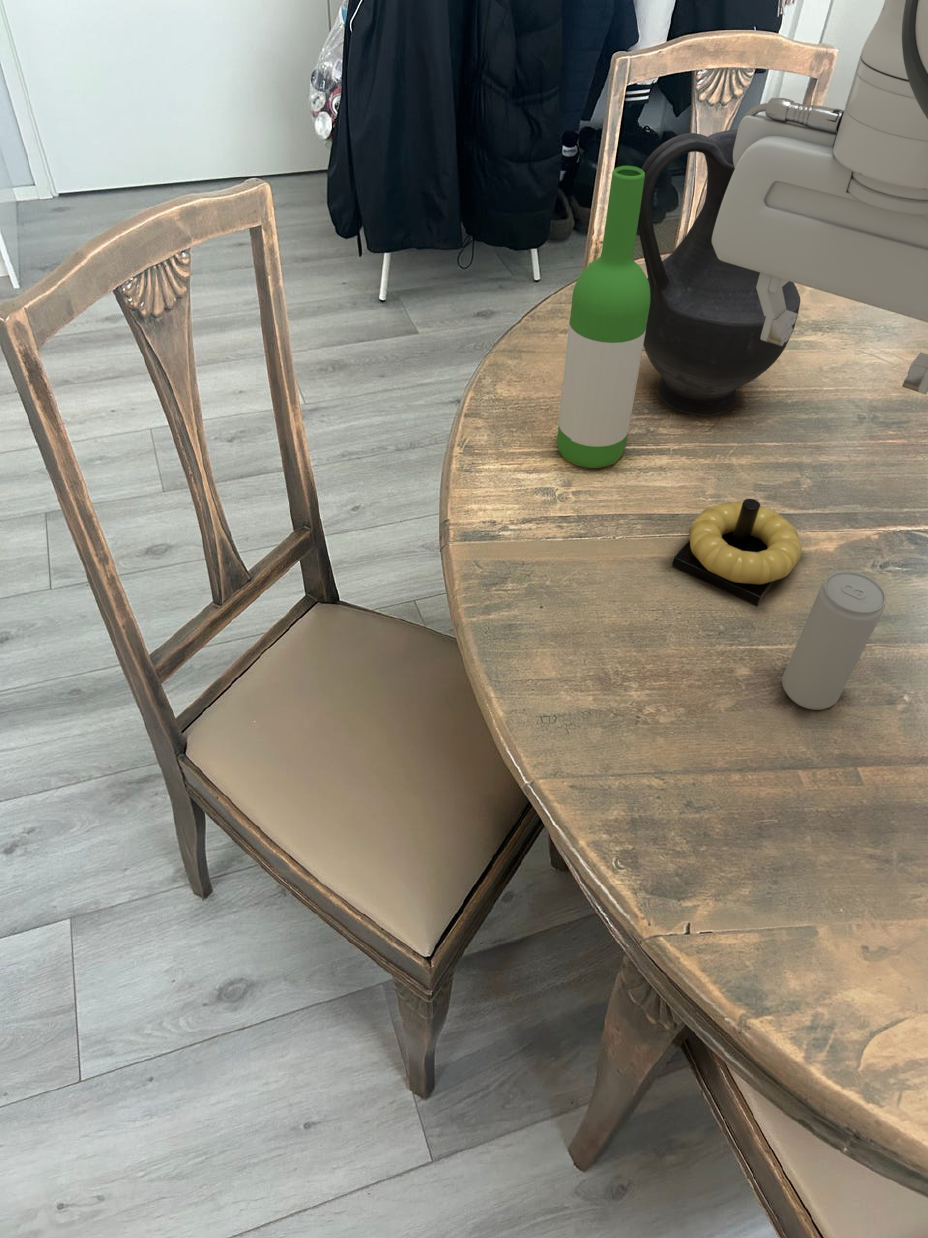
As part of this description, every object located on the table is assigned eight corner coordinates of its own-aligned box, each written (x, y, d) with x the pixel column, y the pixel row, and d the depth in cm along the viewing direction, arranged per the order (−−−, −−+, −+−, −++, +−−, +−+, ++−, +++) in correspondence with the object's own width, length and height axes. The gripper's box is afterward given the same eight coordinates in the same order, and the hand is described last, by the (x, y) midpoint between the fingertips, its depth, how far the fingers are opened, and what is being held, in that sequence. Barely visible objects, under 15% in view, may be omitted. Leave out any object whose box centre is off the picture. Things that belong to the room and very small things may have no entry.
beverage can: (825, 722, 73) (875, 622, 64) (770, 695, 75) (812, 594, 66) (845, 687, 76) (897, 587, 67) (792, 661, 78) (836, 560, 69)
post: (794, 555, 87) (816, 498, 82) (756, 606, 82) (777, 548, 77) (712, 520, 91) (728, 463, 86) (671, 566, 86) (685, 508, 81)
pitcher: (795, 422, 104) (885, 150, 82) (634, 449, 100) (685, 169, 78) (725, 351, 115) (788, 95, 94) (578, 373, 111) (609, 110, 90)
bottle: (596, 425, 103) (636, 150, 82) (638, 459, 98) (691, 177, 77) (542, 444, 100) (567, 164, 79) (582, 480, 96) (621, 193, 74)
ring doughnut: (812, 547, 86) (821, 523, 84) (769, 606, 81) (777, 582, 79) (715, 506, 91) (722, 483, 89) (668, 559, 85) (673, 536, 83)
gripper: (722, 103, 49) (676, 332, 59) (1125, 190, 41) (992, 440, 51) (768, 78, 53) (717, 298, 63) (1148, 154, 44) (1019, 394, 54)
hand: (843, 362), depth 57 cm, fingers open, 8 cm apart
